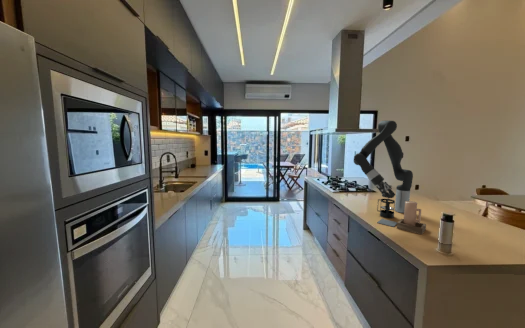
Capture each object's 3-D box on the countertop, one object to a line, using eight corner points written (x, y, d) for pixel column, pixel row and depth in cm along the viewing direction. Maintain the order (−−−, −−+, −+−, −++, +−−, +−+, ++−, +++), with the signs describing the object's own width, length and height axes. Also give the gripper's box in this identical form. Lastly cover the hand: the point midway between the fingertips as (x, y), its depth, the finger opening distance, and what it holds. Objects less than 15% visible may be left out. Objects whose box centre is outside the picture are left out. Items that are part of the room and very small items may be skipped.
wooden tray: (401, 223, 150) (401, 218, 150) (425, 229, 141) (426, 224, 141) (396, 228, 143) (397, 222, 142) (422, 234, 133) (422, 228, 133)
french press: (394, 215, 168) (396, 184, 165) (395, 219, 159) (398, 187, 157) (376, 213, 172) (378, 183, 170) (377, 216, 164) (379, 185, 161)
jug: (404, 225, 147) (406, 200, 145) (420, 229, 141) (422, 203, 139) (401, 228, 143) (403, 202, 141) (418, 232, 137) (420, 205, 135)
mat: (382, 219, 158) (382, 218, 158) (398, 223, 151) (398, 222, 151) (377, 223, 151) (377, 222, 151) (393, 227, 144) (393, 226, 144)
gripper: (375, 174, 148) (393, 195, 141) (382, 172, 158) (400, 191, 151) (366, 181, 152) (383, 201, 145) (374, 179, 162) (390, 197, 155)
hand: (392, 196), depth 148 cm, fingers open, 8 cm apart
